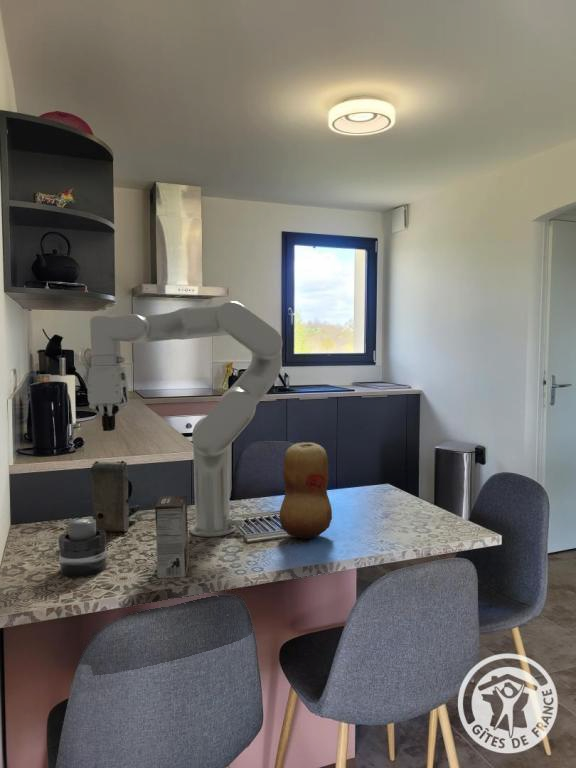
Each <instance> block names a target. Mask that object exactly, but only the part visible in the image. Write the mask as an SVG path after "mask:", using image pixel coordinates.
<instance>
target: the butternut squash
mask: <svg viewBox="0 0 576 768" xmlns="http://www.w3.org/2000/svg"><path fill="white" fill-rule="evenodd" d="M283 459H284V462H283V473H282V474H283V482H284V497H283V500H282V503H281V505H280V510H279V524H280V526H281V528H282V530H284V532H286V534H287V535H289V536H291V537H295V538H297V539H303V540H310V539H315V538H317V537H319V536H320V535H322V534H323V533H324V532H326V531H327V529H329V528H330V527H331V526H330V524H331V522H332V520H333V513H332V512H333V510H332V505H331V502H330V498H329V495H328V491H327V488H328V484H329V480H330V478H329V459H328V454H327V451H326V449H325V448H324V447H323V446H321V445H320V444H317V443H315V442H311V441H310V442H296V443H294V444H292V445H291V446H289V447H288V448H287V449H286V451H285V454H284V458H283Z"/></svg>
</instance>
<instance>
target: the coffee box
mask: <svg viewBox="0 0 576 768" xmlns="http://www.w3.org/2000/svg"><path fill="white" fill-rule="evenodd" d="M187 498H188V496H187V495H165V496H160V497H158V500H157V502H156V504H155V534H156V535H155V536H156V538H155V539H156V568H157V569H156V570H157V571H156V572H157V579H168V578H169V579H170V578H185V577H187V572H188V569H189V564H190V556H189V555H190V553H189V527H188V526H189V525H188V503H187V502H188V501H187V500H188V499H187Z"/></svg>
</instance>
